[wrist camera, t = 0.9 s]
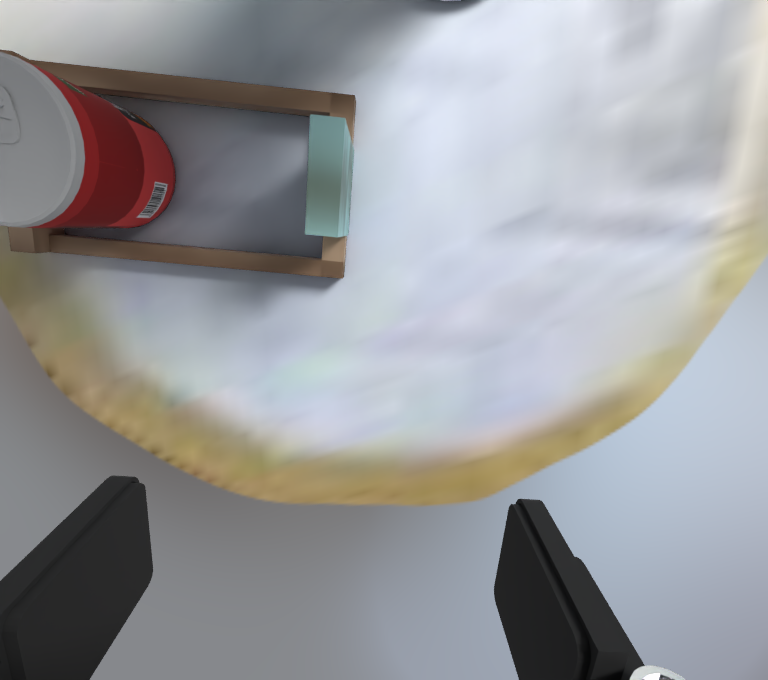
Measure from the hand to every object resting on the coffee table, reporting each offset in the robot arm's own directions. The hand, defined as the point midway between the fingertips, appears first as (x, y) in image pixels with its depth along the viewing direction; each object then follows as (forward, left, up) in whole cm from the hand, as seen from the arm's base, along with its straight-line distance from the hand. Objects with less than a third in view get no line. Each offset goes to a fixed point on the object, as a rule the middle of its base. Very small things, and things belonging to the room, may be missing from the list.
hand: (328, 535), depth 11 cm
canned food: (-10, -18, -24) cm, 32 cm away
